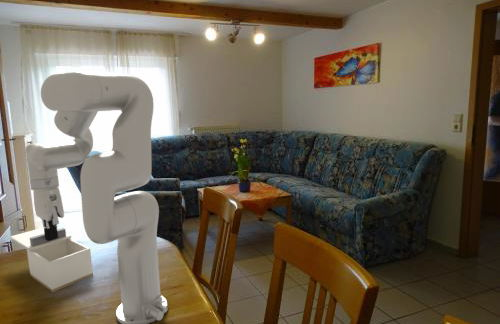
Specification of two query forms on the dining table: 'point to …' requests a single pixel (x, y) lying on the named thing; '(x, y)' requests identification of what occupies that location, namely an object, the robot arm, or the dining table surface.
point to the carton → (60, 264)
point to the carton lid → (38, 238)
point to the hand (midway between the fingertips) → (51, 239)
